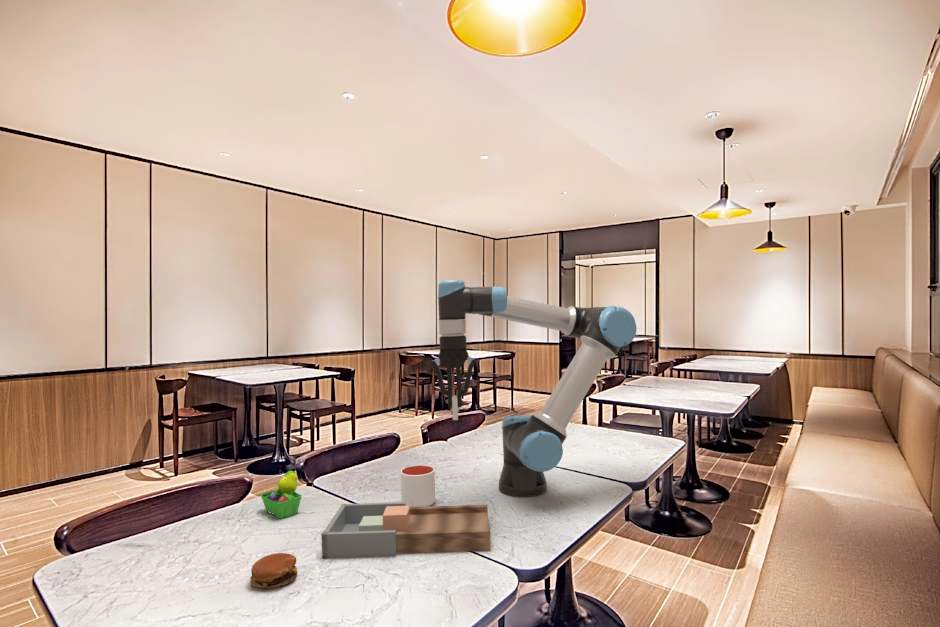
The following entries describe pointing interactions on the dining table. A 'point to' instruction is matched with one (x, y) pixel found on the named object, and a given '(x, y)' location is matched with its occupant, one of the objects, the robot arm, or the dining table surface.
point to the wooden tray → (445, 530)
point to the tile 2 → (396, 518)
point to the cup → (418, 486)
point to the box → (358, 533)
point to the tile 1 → (371, 523)
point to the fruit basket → (283, 497)
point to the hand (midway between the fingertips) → (455, 418)
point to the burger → (273, 570)
